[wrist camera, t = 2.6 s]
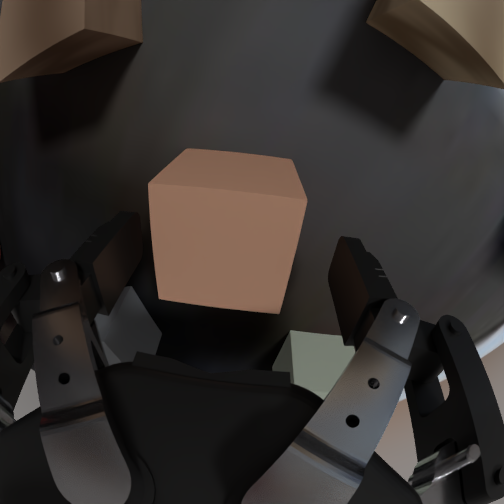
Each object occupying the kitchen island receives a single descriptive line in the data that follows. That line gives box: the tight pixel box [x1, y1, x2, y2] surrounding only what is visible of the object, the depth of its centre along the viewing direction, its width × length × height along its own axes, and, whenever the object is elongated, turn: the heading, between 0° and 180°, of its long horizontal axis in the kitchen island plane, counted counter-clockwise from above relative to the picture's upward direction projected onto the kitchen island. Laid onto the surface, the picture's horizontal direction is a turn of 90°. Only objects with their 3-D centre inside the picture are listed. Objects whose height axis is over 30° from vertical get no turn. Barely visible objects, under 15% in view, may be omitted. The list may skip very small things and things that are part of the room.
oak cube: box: [366, 0, 504, 89], centre depth 5 cm, size 5×5×5 cm
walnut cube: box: [0, 0, 143, 83], centre depth 6 cm, size 5×5×5 cm
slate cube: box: [95, 286, 162, 365], centre depth 17 cm, size 5×5×5 cm
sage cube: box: [272, 331, 355, 400], centre depth 19 cm, size 5×5×5 cm
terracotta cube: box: [148, 149, 307, 314], centre depth 12 cm, size 5×5×5 cm
